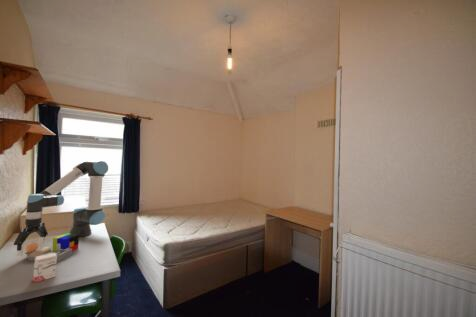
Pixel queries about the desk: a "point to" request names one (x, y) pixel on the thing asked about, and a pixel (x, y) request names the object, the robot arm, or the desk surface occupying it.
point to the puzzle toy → (65, 242)
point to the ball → (31, 247)
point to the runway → (47, 250)
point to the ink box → (45, 267)
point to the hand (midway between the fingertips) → (30, 250)
